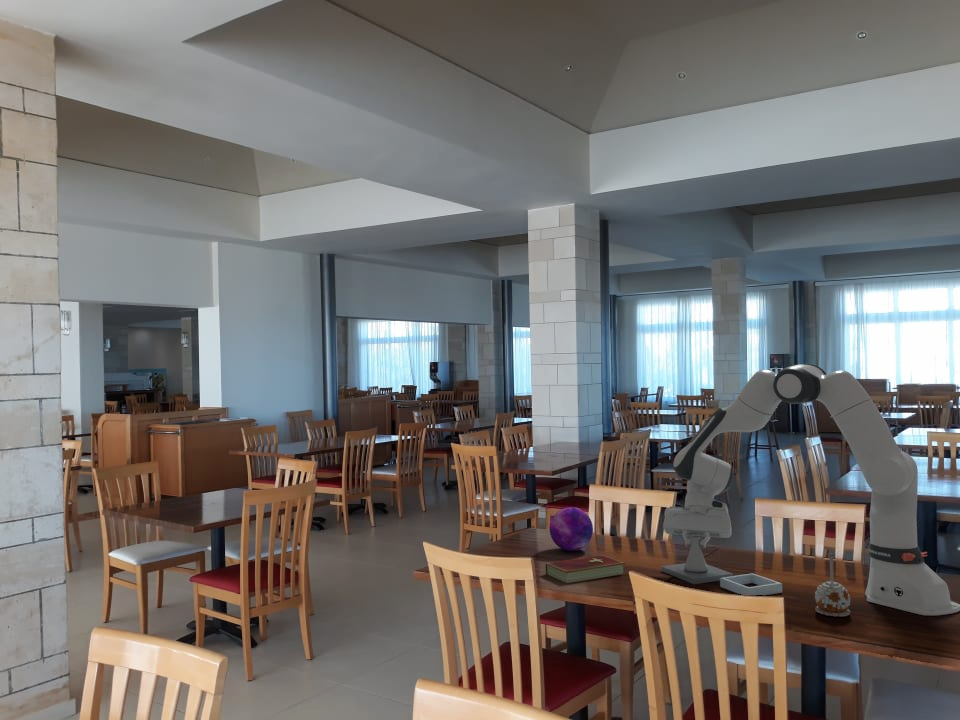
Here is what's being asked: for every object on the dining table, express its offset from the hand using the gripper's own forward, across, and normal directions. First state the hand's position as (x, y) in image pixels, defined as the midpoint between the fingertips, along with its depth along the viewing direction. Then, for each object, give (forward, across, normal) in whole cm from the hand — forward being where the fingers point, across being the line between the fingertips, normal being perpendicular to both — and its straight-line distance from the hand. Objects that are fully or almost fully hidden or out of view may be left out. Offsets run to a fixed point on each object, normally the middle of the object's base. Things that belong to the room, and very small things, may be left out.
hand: (695, 546), depth 227 cm
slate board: (+6, 0, +7) cm, 9 cm away
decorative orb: (-6, -44, +19) cm, 49 cm away
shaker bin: (+13, +16, -1) cm, 21 cm away
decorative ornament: (+24, +37, -11) cm, 45 cm away
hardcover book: (+14, -32, 0) cm, 34 cm away
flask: (+5, 0, +6) cm, 7 cm away
